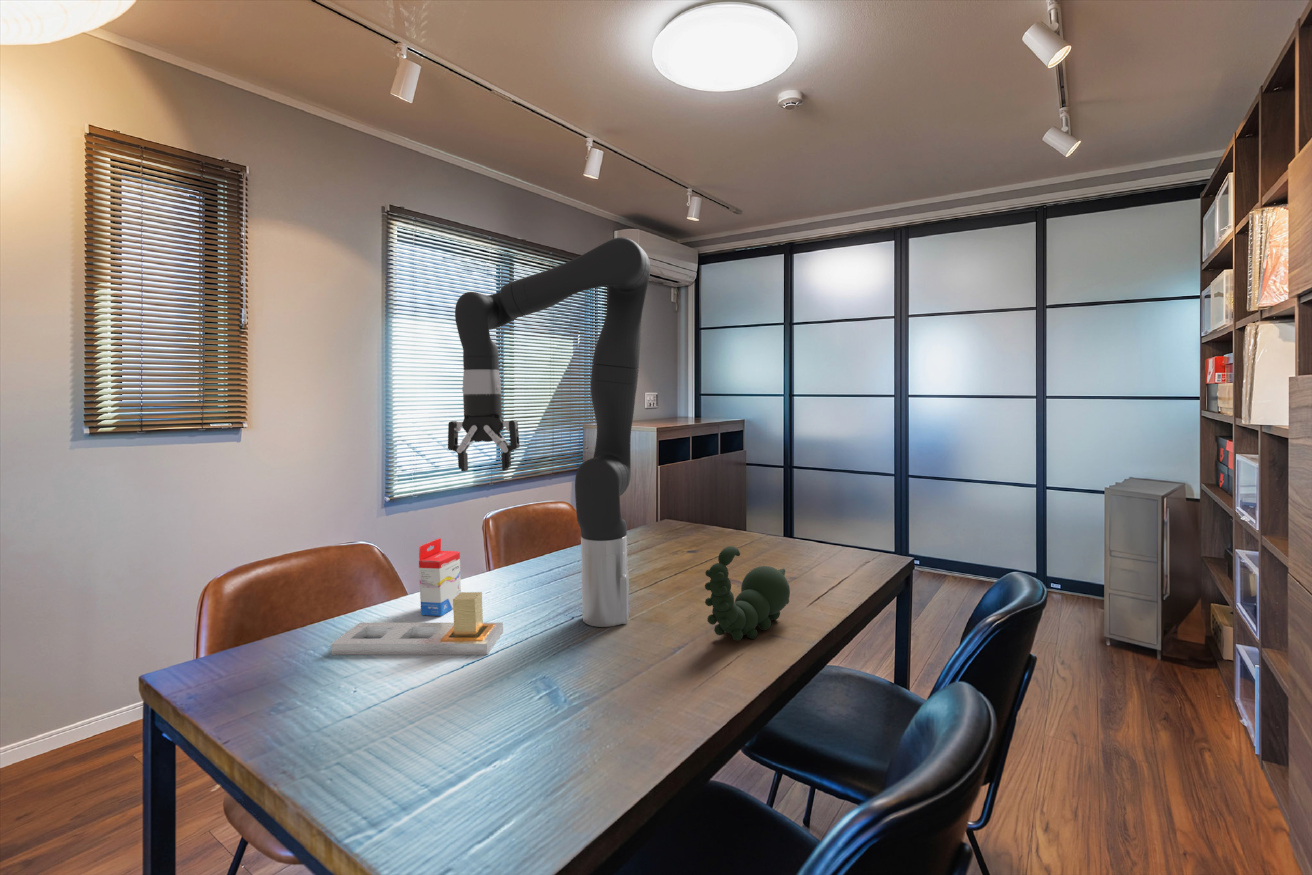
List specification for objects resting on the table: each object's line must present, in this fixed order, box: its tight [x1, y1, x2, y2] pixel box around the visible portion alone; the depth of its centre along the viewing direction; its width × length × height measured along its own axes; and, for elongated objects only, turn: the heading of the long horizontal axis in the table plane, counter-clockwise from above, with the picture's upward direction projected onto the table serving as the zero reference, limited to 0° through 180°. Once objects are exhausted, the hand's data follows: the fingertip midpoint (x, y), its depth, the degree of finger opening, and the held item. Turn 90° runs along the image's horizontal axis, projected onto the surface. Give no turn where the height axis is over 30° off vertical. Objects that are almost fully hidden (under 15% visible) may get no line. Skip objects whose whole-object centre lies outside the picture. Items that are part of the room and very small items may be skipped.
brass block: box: [452, 591, 484, 638], centre depth 113 cm, size 4×4×9 cm
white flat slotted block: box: [330, 622, 504, 656], centre depth 114 cm, size 28×10×2 cm, turn 88°
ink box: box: [418, 537, 462, 617], centre depth 131 cm, size 8×5×15 cm, turn 168°
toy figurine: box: [704, 545, 791, 641], centre depth 118 cm, size 9×19×25 cm
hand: (484, 470), depth 127 cm, fingers open, 8 cm apart
